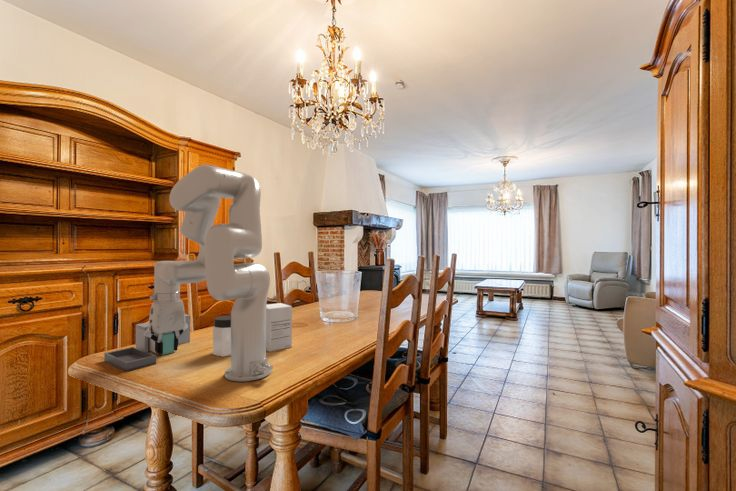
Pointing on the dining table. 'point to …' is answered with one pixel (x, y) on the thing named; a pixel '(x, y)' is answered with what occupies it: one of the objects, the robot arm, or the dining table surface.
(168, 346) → the teal-capped white block
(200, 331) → the dining table surface
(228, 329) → the jar
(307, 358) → the dining table surface
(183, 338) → the bay
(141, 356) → the tray
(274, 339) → the supplement box
